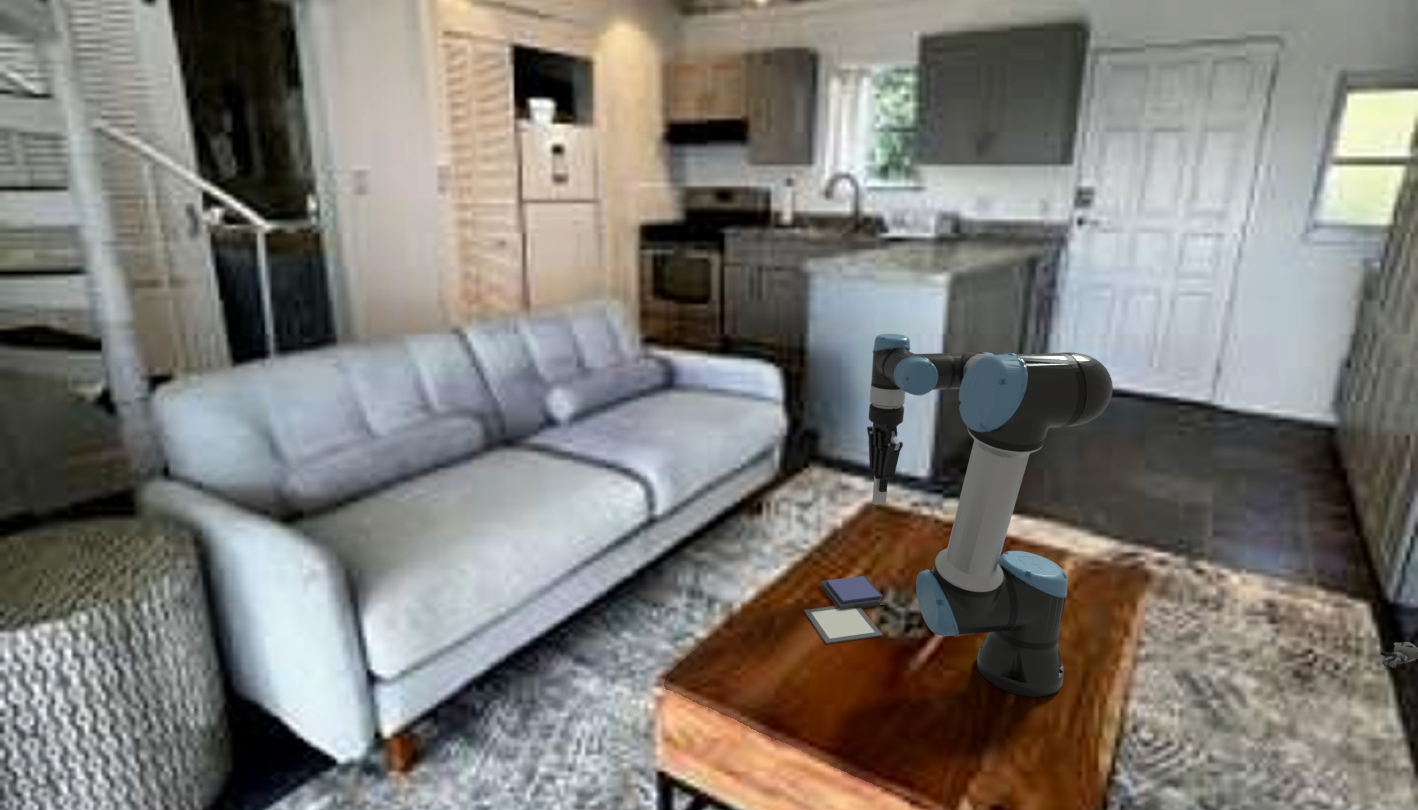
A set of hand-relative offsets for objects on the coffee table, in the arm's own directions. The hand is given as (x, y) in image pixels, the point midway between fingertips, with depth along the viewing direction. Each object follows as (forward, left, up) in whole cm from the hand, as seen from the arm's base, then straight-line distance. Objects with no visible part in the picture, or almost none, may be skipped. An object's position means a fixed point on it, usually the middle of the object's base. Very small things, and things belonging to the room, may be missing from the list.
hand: (879, 502), depth 174 cm
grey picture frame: (-18, +16, -18) cm, 30 cm away
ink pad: (-8, +9, -18) cm, 22 cm away
